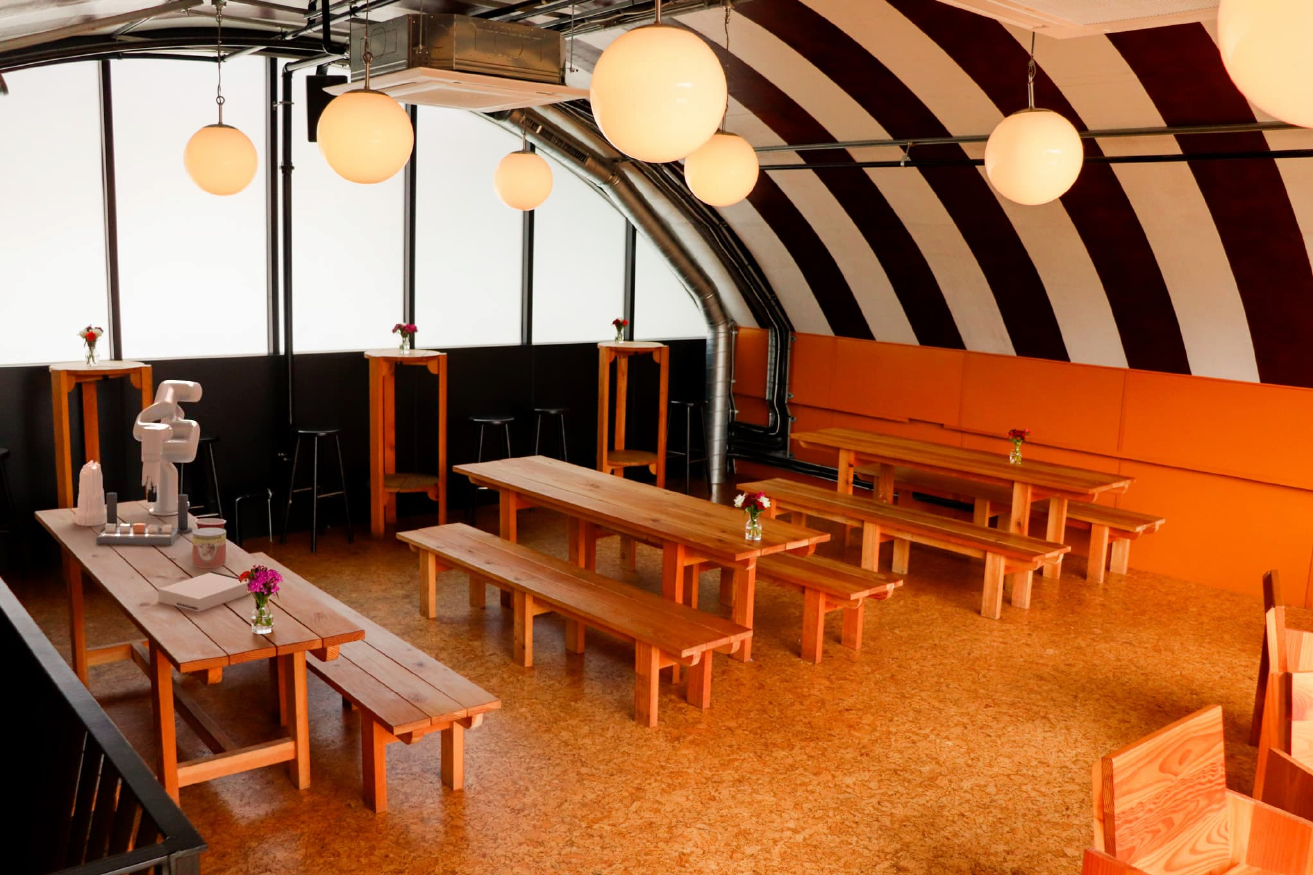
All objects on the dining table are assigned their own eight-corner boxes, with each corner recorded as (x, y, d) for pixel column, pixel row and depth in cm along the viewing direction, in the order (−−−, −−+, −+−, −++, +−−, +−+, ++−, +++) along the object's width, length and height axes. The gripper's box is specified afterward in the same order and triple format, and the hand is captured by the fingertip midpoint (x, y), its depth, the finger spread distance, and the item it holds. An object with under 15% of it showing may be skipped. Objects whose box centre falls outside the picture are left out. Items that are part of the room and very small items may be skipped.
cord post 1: (118, 527, 416) (117, 490, 413) (124, 531, 411) (124, 494, 409) (99, 529, 411) (98, 492, 408) (105, 533, 406) (105, 496, 403)
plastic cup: (231, 548, 400) (231, 517, 398) (216, 555, 390) (216, 524, 388) (204, 545, 401) (204, 515, 399) (189, 552, 390) (189, 521, 389)
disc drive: (251, 594, 352) (251, 580, 351) (199, 613, 331) (199, 598, 331) (211, 585, 358) (211, 571, 358) (158, 602, 338) (158, 587, 337)
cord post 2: (188, 528, 422) (188, 492, 419) (195, 532, 417) (195, 496, 414) (170, 530, 417) (170, 494, 414) (177, 534, 412) (177, 498, 409)
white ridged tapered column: (96, 526, 414) (96, 465, 410) (70, 524, 414) (69, 463, 410) (111, 520, 425) (111, 460, 421) (85, 518, 425) (84, 458, 421)
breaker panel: (107, 534, 405) (107, 519, 404) (179, 535, 411) (179, 520, 410) (97, 544, 392) (96, 529, 391) (171, 545, 398) (171, 530, 397)
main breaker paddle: (134, 530, 401) (134, 523, 401) (145, 531, 402) (145, 523, 402) (132, 532, 399) (132, 524, 399) (144, 532, 400) (144, 524, 400)
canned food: (190, 567, 373) (190, 535, 371) (195, 558, 384) (195, 527, 382) (223, 567, 376) (224, 535, 374) (227, 558, 387) (228, 527, 385)
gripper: (146, 453, 422) (146, 497, 425) (137, 460, 408) (137, 505, 411) (166, 454, 424) (166, 497, 427) (157, 461, 410) (157, 506, 413)
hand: (152, 501), depth 419 cm, fingers closed
